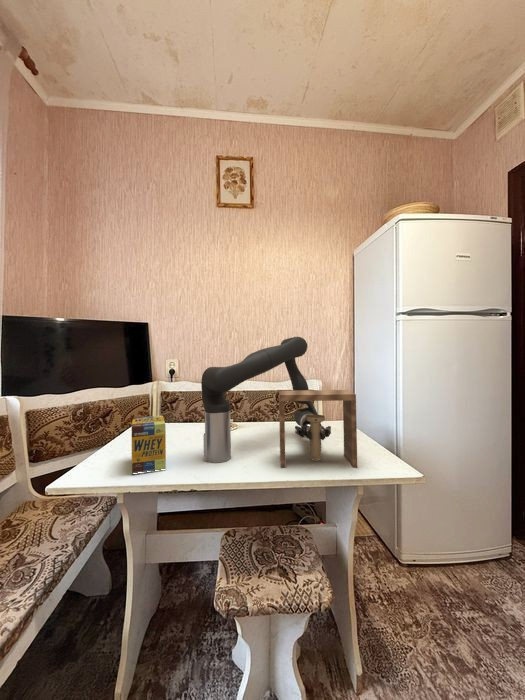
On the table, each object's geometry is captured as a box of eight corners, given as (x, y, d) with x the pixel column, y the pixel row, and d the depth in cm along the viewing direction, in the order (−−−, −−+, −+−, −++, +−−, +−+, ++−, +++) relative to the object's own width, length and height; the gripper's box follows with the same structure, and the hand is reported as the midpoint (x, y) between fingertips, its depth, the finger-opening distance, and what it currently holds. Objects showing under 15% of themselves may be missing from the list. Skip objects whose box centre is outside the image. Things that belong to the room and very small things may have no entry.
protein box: (131, 476, 93) (131, 426, 94) (133, 460, 108) (132, 417, 108) (166, 470, 97) (165, 423, 97) (163, 456, 112) (162, 414, 112)
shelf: (280, 467, 98) (279, 395, 98) (280, 455, 110) (278, 390, 110) (357, 467, 97) (355, 394, 97) (348, 455, 109) (346, 389, 109)
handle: (325, 462, 101) (325, 417, 101) (306, 461, 101) (306, 417, 101) (324, 457, 105) (323, 414, 105) (306, 456, 106) (305, 414, 106)
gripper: (292, 415, 118) (295, 426, 101) (328, 415, 117) (337, 426, 100) (292, 434, 118) (295, 448, 101) (328, 434, 117) (337, 448, 100)
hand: (316, 437), depth 101 cm, fingers closed on handle, 3 cm apart
